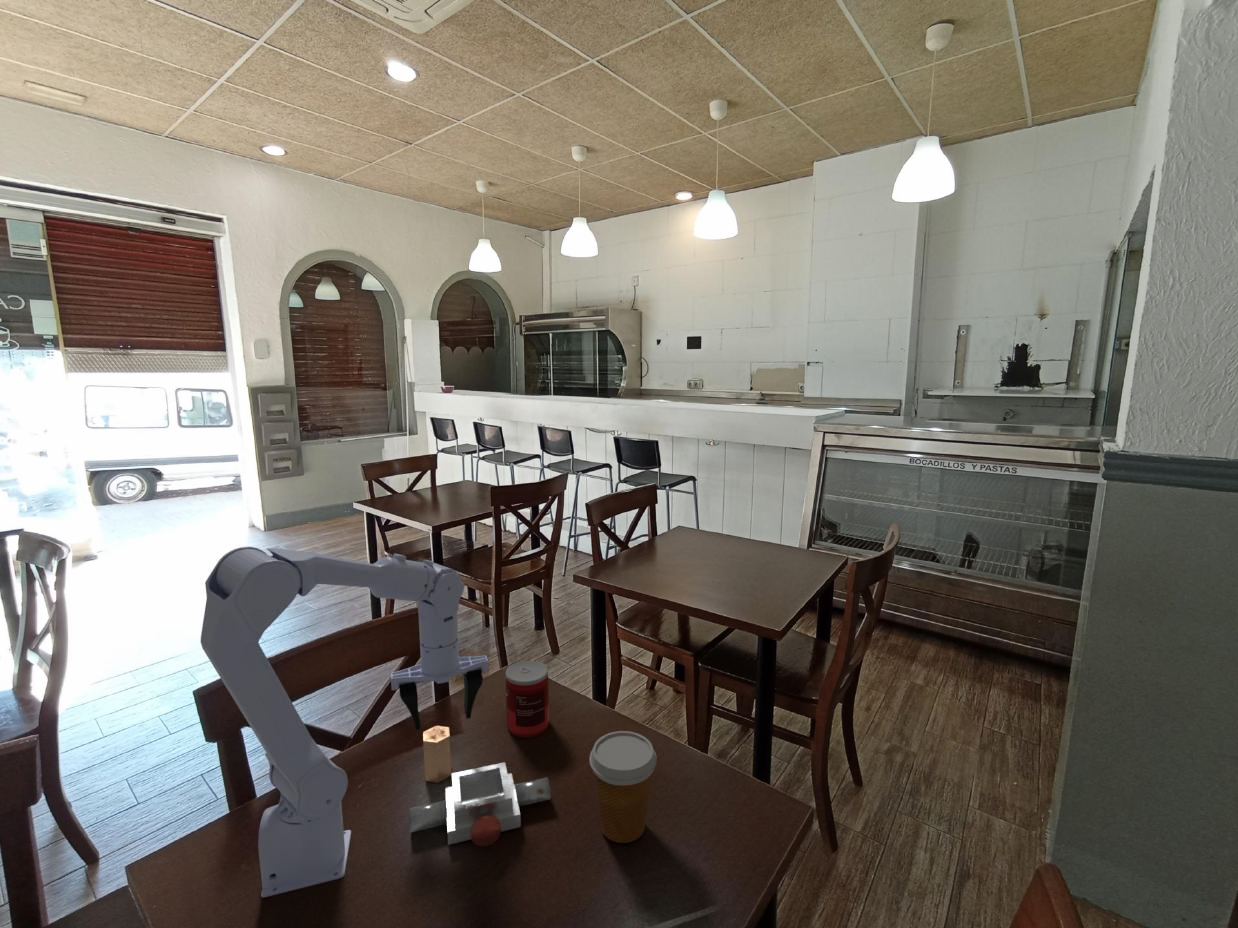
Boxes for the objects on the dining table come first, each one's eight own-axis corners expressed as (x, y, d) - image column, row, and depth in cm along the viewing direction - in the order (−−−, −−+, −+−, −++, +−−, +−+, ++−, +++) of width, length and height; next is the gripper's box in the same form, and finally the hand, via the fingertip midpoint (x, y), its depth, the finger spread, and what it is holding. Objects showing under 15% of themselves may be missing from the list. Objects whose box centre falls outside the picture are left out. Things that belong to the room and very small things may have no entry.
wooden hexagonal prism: (425, 785, 89) (423, 744, 88) (425, 766, 94) (423, 727, 92) (451, 779, 90) (449, 739, 89) (450, 761, 95) (448, 723, 94)
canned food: (527, 708, 110) (526, 656, 108) (558, 723, 105) (557, 668, 104) (497, 728, 104) (495, 672, 102) (528, 744, 99) (527, 686, 98)
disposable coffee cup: (579, 841, 78) (578, 762, 77) (604, 794, 87) (604, 723, 85) (644, 861, 75) (645, 779, 73) (663, 810, 84) (664, 736, 82)
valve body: (409, 868, 74) (407, 838, 73) (411, 807, 85) (409, 779, 84) (558, 830, 80) (558, 801, 80) (543, 777, 91) (542, 751, 90)
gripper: (389, 660, 81) (394, 746, 83) (490, 642, 87) (493, 723, 89) (388, 639, 88) (393, 720, 90) (483, 624, 93) (485, 700, 95)
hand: (443, 720), depth 90 cm, fingers open, 7 cm apart
